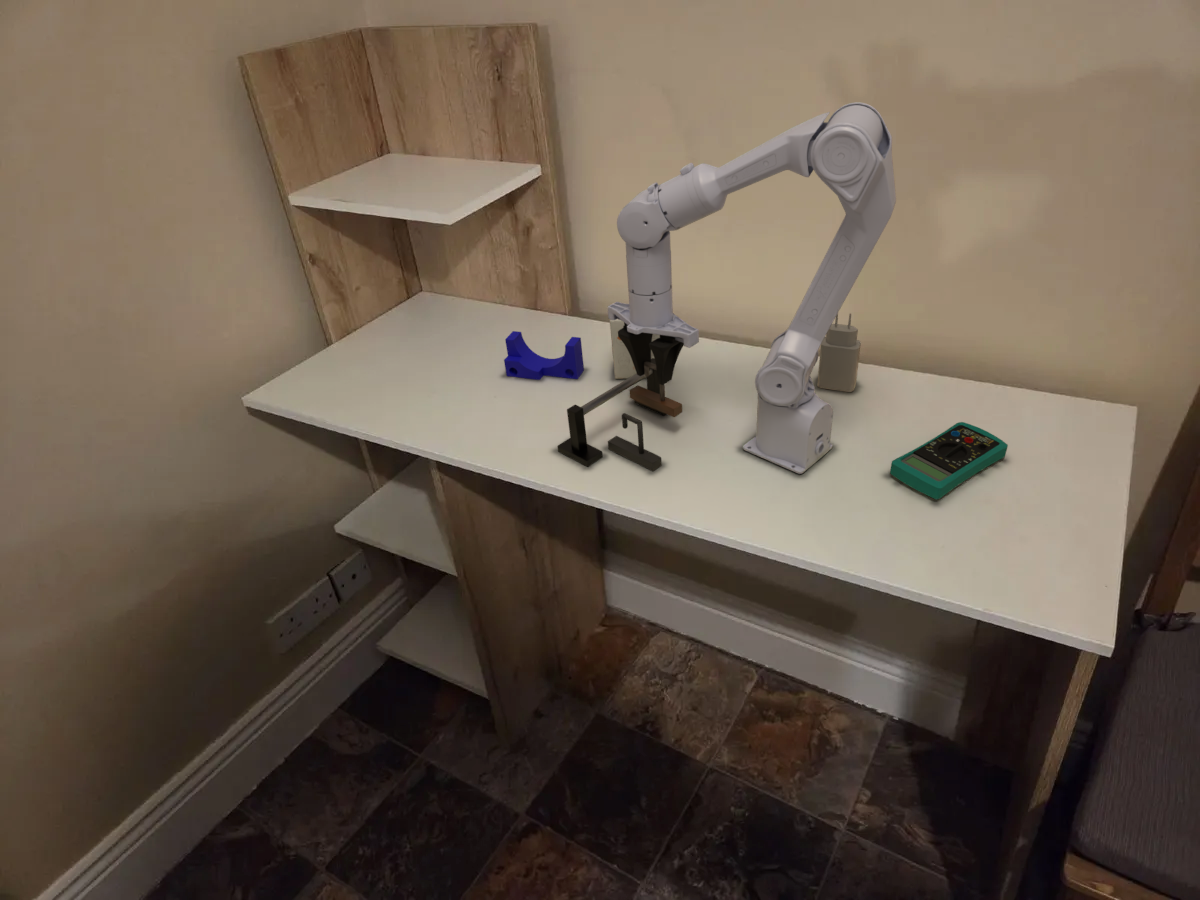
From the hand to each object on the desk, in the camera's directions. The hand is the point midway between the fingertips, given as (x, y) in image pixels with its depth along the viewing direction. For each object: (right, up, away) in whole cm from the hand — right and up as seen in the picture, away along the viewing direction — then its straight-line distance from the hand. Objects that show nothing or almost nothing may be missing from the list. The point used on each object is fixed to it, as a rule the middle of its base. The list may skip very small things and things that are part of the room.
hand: (654, 377), depth 112 cm
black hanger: (-3, -11, -1) cm, 12 cm away
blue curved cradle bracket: (-17, +2, +20) cm, 26 cm away
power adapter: (+28, +3, +8) cm, 29 cm away
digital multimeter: (+37, -13, -8) cm, 40 cm away
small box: (-1, +3, +19) cm, 19 cm away
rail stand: (-5, -7, +5) cm, 10 cm away
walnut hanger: (0, -4, +3) cm, 5 cm away
